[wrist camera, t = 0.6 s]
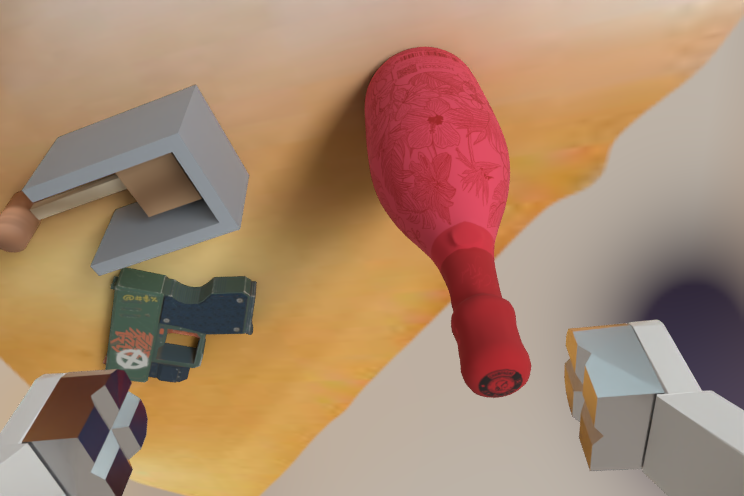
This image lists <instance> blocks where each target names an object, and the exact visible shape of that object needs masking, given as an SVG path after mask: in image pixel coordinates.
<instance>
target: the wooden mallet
mask: <svg viewBox="0 0 744 496" xmlns="http://www.w3.org/2000/svg"><path fill="white" fill-rule="evenodd" d="M125 189H128V190H129V192H130V193H131V194H132V196H133V197H134V198H135V200H136V201H137V202H138V204H139V205H140V206H141V207H142V209H143V210H144V211H145V213H146V214H147V215H148V217H151V216H154V215H156V214H159V213H162V212H165V211H168V210H171V209H174V208H177V207H180V206H182V205H185V204H188V203H191V202H194V201H197V200H200V199H202V196H201V194H200V193H199V191H198V190H197V188H196V187H195V185H194V184H193V182H192V181H191V179H190V178H189V176H188V175H187V173H186V172H185V170H184V169H183V167H182V166H181V164H180V163H179V161H178V160H177V158H176V157H175V155H174V154H173V152H171V153H168V154H165V155H163V156H160V157H157V158H154V159H152V160H149V161H146V162H143V163H141V164H138V165H135V166H132V167H130V168H127V169H124V170H121V171H119V172H116V174H113V175H111V176H108V177H105V178H102V179H100V180H97V181H94V182H91V183H89V184H86V185H83V186H80V187H78V188H75V189H72V190H69V191H67V192H64V193H61V194H58V195H56V196H53V197H50V198H47V199H45V200H44V199H42V200H39V201H36V202H32V201H31V200H30V199H29V198H28V197H27V196H26V195H25V194H24V192H23V191H20V192H17V193H16V194H14V196H13V197H12V198H11V200H10V201H9V203H8V204H7V206H6V207H5V209H4V210H3V212H2V213H1V214H0V249H1V250H4V251H7V252H20V251H22V250H24V249H25V248H26V246H27V245H28V243H29V241H30V240H31V238H32V236H33V235H34V233H35V231H36V229H37V228H38V226H39V224H40V223H41V221H42V219H44V218H47V217H49V216H52V215H55V214H58V213H61V212H63V211H66V210H69V209H72V208H75V207H77V206H80V205H83V204H86V203H89V202H91V201H94V200H97V199H100V198H103V197H105V196H108V195H111V194H114V193H117V192H119V191H122V190H125Z"/></svg>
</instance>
